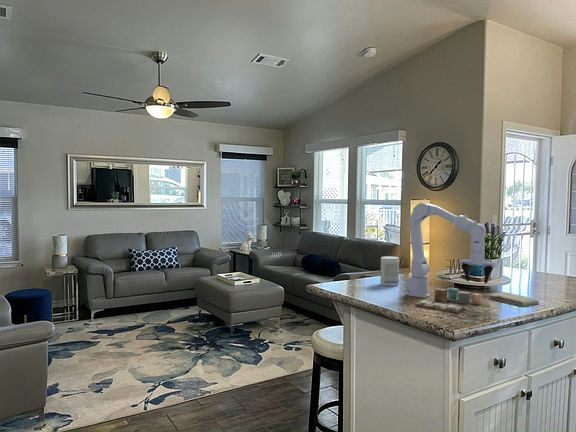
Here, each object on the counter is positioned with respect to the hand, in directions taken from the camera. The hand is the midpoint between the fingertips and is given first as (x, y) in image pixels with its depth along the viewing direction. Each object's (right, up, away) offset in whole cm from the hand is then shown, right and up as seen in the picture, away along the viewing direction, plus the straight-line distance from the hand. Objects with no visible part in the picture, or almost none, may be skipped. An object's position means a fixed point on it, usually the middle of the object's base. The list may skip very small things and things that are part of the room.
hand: (476, 281), depth 189 cm
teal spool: (-8, -9, +6) cm, 14 cm away
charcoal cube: (-5, -10, +2) cm, 11 cm away
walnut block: (-16, -9, +1) cm, 18 cm away
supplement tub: (-29, -8, +40) cm, 50 cm away
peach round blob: (0, -10, 0) cm, 10 cm away
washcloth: (+18, -10, +5) cm, 21 cm away
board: (-19, -10, -8) cm, 23 cm away
